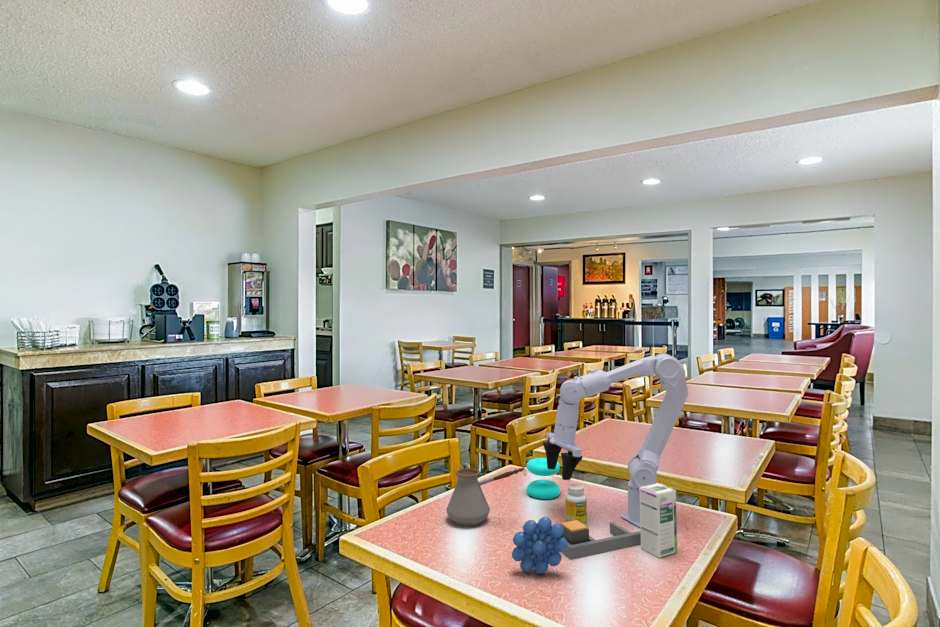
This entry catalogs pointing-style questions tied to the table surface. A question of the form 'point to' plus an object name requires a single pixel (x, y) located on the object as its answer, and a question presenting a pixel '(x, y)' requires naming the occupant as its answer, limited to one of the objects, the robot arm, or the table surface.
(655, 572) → the table surface
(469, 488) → the coffee pot
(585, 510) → the supplement bottle
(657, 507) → the syrup box
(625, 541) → the grey tray with block
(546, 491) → the donuts
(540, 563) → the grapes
